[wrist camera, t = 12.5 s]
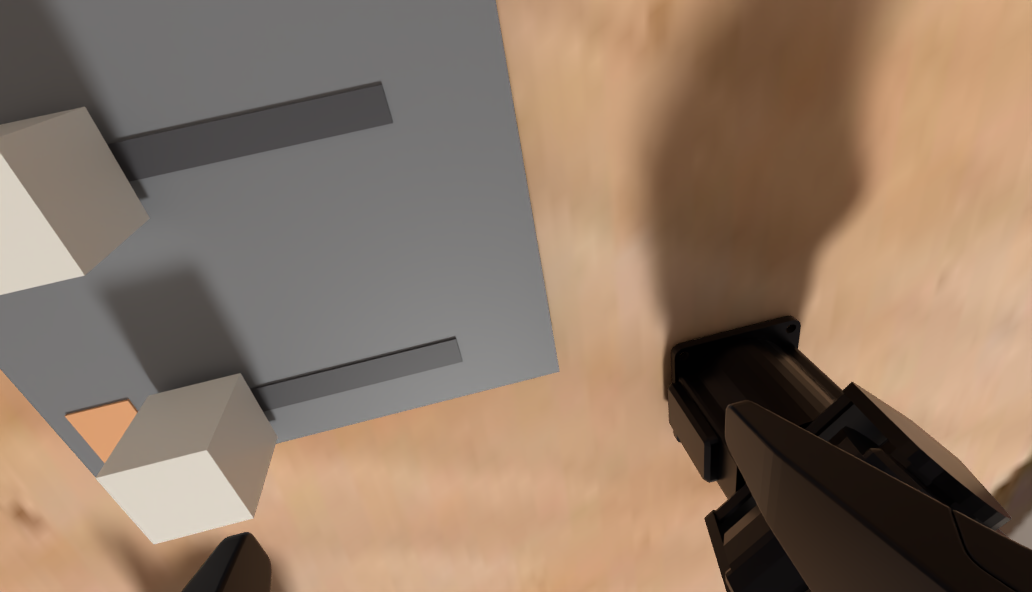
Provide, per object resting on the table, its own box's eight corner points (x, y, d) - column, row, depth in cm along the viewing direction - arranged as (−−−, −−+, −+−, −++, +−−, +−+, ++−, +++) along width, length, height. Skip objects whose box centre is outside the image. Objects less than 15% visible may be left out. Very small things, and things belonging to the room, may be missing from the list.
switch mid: (85, 106, 15) (-9, 140, 12) (149, 218, 17) (84, 275, 14) (-41, 133, 15) (-174, 175, 12) (37, 243, 17) (-56, 307, 13)
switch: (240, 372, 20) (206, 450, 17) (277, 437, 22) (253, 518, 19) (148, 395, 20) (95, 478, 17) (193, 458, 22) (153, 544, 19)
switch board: (398, -510, 12) (397, -574, 11) (551, 351, 25) (560, 372, 24) (-557, -364, 11) (-696, -415, 10) (120, 460, 24) (103, 489, 22)
